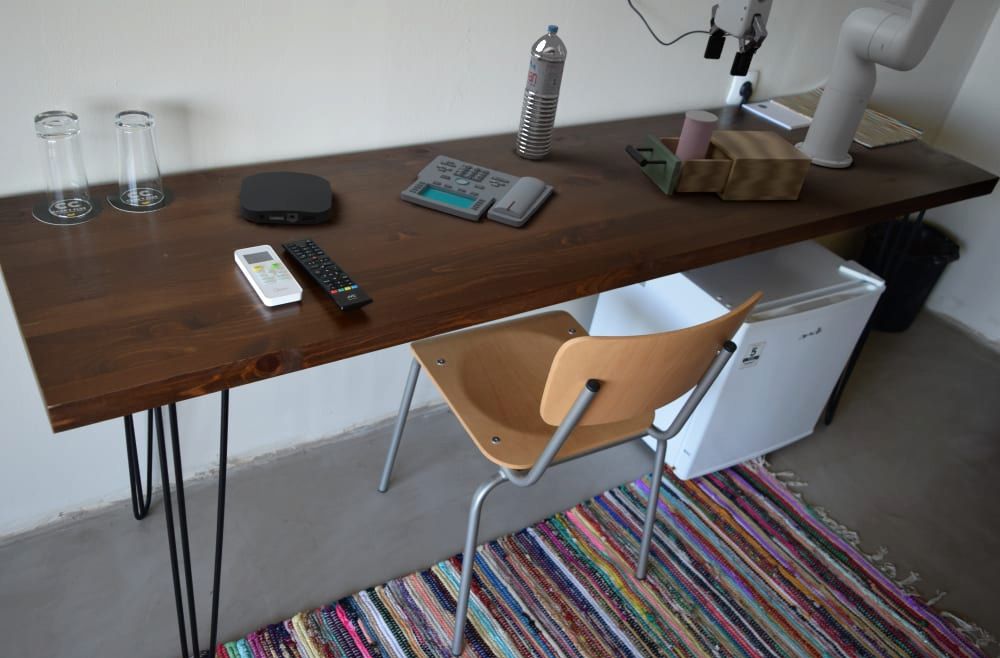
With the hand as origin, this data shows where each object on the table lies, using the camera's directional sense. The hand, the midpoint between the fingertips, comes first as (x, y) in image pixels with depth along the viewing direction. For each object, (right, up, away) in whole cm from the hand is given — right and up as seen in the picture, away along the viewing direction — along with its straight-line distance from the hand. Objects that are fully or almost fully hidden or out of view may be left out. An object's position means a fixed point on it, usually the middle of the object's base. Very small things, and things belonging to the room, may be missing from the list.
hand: (724, 66), depth 147 cm
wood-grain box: (+9, -18, +17) cm, 26 cm away
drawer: (-6, -18, +12) cm, 22 cm away
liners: (-4, -17, +12) cm, 21 cm away
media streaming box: (-77, -28, -12) cm, 83 cm away
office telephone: (-45, -24, -1) cm, 51 cm away
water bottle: (-34, -12, +18) cm, 40 cm away
